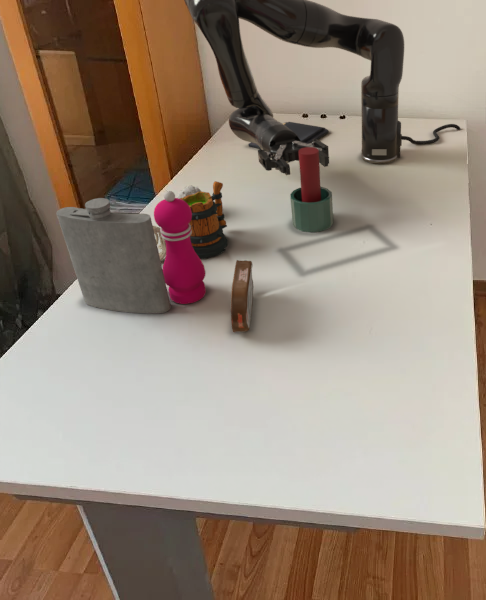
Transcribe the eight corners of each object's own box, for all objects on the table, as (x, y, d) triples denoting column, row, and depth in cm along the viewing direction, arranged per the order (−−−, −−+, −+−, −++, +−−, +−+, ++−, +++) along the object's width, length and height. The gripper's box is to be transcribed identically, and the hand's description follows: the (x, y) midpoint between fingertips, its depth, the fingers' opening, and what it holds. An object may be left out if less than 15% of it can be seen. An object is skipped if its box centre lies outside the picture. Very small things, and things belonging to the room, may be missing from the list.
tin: (239, 290, 113) (234, 250, 108) (257, 290, 113) (252, 249, 108) (232, 343, 101) (225, 300, 96) (252, 342, 101) (246, 299, 96)
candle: (317, 216, 136) (313, 145, 126) (325, 224, 133) (322, 152, 124) (300, 220, 134) (295, 149, 125) (308, 228, 131) (303, 155, 122)
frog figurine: (188, 225, 134) (182, 195, 130) (173, 213, 138) (167, 184, 134) (213, 216, 137) (208, 186, 133) (198, 205, 141) (192, 176, 137)
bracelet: (128, 270, 119) (118, 233, 114) (158, 251, 124) (150, 215, 120) (143, 275, 117) (134, 238, 112) (173, 256, 123) (166, 220, 118)
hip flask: (173, 303, 110) (150, 200, 98) (163, 317, 106) (138, 211, 95) (91, 294, 112) (59, 191, 101) (78, 307, 109) (44, 203, 97)
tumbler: (322, 212, 138) (320, 182, 134) (340, 228, 132) (339, 197, 128) (286, 220, 135) (283, 191, 131) (303, 237, 129) (300, 207, 125)
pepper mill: (216, 287, 114) (200, 185, 102) (194, 309, 108) (174, 203, 97) (182, 280, 116) (162, 179, 104) (158, 301, 110) (135, 196, 99)
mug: (208, 264, 120) (199, 210, 114) (167, 252, 124) (155, 199, 117) (248, 235, 130) (241, 183, 123) (208, 224, 134) (200, 174, 127)
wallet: (292, 149, 164) (245, 139, 170) (293, 156, 165) (246, 146, 171) (331, 125, 178) (286, 117, 184) (331, 132, 179) (287, 124, 185)
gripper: (307, 151, 143) (339, 176, 132) (248, 163, 138) (276, 190, 126) (305, 118, 139) (338, 142, 127) (244, 130, 133) (273, 155, 122)
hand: (307, 166), depth 127 cm, fingers open, 8 cm apart
